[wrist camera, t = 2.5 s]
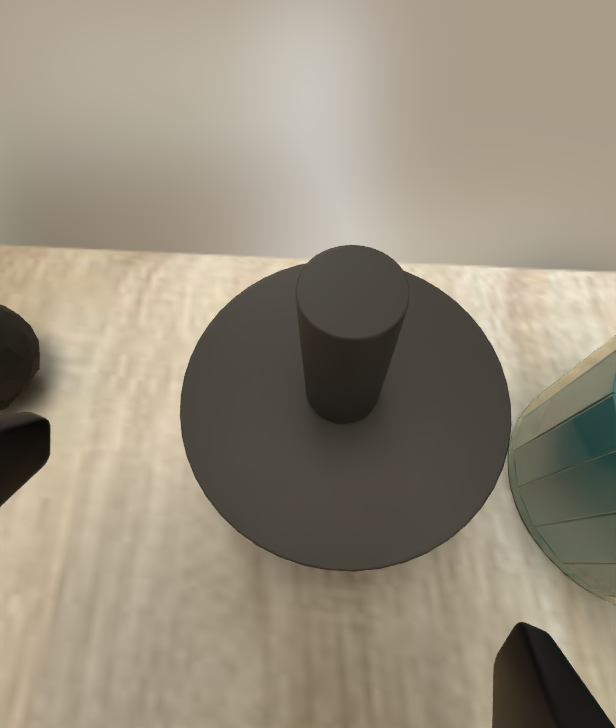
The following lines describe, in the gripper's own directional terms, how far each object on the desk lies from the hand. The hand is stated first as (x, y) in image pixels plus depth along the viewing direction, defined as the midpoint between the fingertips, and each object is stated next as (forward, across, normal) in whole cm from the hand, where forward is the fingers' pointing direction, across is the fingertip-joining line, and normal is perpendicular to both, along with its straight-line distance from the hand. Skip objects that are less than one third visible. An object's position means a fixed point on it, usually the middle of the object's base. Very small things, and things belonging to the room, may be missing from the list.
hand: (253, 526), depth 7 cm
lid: (+8, 0, +1) cm, 8 cm away
